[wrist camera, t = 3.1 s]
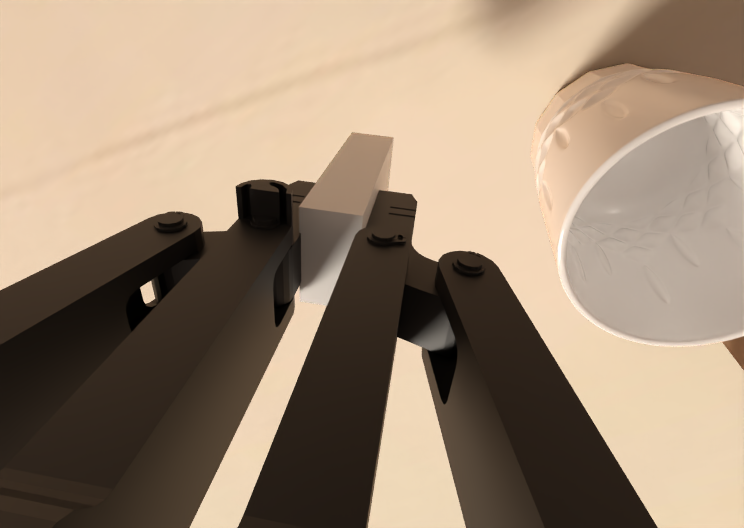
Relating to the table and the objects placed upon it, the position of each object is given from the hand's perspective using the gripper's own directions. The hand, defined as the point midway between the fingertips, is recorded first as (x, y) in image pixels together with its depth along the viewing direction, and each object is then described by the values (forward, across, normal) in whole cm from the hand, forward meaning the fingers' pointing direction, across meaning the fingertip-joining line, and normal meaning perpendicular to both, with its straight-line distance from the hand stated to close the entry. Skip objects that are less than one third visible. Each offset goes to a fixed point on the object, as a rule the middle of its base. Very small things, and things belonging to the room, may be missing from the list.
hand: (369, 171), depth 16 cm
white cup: (+7, +10, 0) cm, 12 cm away
